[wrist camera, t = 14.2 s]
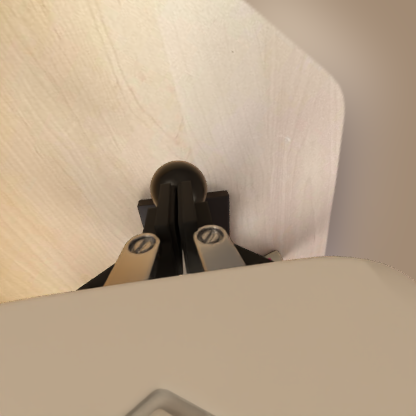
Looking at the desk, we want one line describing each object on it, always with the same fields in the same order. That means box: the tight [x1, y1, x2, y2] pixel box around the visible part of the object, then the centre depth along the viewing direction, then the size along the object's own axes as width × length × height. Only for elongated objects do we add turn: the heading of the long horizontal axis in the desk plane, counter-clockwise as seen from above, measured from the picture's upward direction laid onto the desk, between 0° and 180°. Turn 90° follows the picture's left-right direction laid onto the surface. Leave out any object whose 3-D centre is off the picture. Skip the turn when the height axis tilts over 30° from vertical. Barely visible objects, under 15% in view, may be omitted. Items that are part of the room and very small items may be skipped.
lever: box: [150, 161, 207, 275], centre depth 14 cm, size 13×4×4 cm, turn 4°
